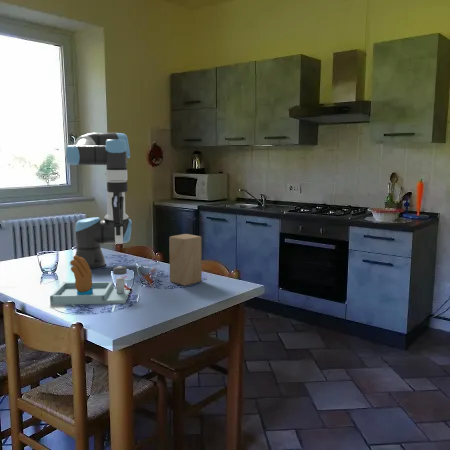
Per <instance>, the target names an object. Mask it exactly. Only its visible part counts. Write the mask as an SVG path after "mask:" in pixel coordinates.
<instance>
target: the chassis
mask: <svg viewBox="0 0 450 450" xmlns="http://www.w3.org/2000/svg"><path fill="white" fill-rule="evenodd" d="M115 280H116V281H115V282H116V284H115V285H116V286H114V285H113V284H114V283H113V281H92V287H93V293H92V294H91V295H77V289H76V286H75V281H74V282H73V281H72V282H71V281H69V282H62V283H61V284H60V286H58V287H57V288H56V289H55V291H54V292H53V293H52V294H50V296H49V301H50V302H49V305H50V306H52V305H57V306H59V305H100V304H101V305H102V304H103V305H109V304H110V305H112V304H116V305H118V304H126V303H127V301H128V298H129V296H130V294H129V293H131V291H130V290H125V289H124V286H125V277H116V279H115ZM115 287H117V289H115ZM128 295H129V296H128ZM126 300H127V301H126Z"/></svg>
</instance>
